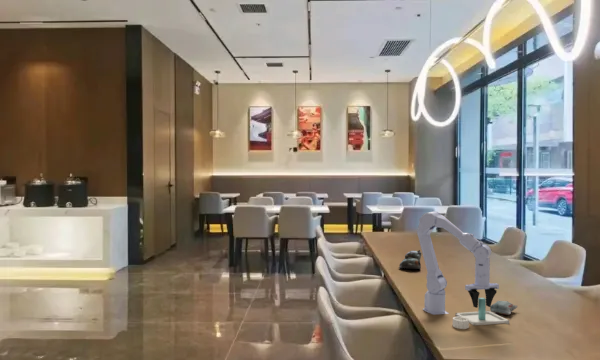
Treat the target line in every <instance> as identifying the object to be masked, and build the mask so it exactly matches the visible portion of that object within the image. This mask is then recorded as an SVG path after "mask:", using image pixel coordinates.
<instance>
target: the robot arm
mask: <svg viewBox="0 0 600 360" xmlns="http://www.w3.org/2000/svg"><path fill="white" fill-rule="evenodd" d="M418 220H419V222H418V228H417V231H416V234H417V237H418V242H419V245H420V249H421V250H420V251H421V254H422V257H423V260H424V263H425V264H424V265H425V268H426V272H427V273H426V290H427V291H426V292H425V293H424V308H422V310H423V311H425V312H427V313H428V314H430V315H447V314H448V315H449V314H450V313H449V312H447V310H446V290H445V289H446V288H447V286H448V281H447V279H446V277H444V274H443V272H442V270H441V269H440V266H439V264H438V259H437V254H436V252H435V248H434V243H433V241H432V237H431V233H432V232H433V230H434V229H435V228H442V229H444V230H445V231H447V232H448V233H449V234H452V235H453V236H454V237H455V238H457V239H458V241H459V244H460V245H461V246H463V248H465V249H467V251H469V252H471V253H472V254H473V256H474V258H475V263H474V264H475V265H474V273H475V274H474V283H471V284H465V285H464V286H465V287H464V289H465V290H466V291H467V292H468V294H469V296H470V298H471V302H472V307H473V308H477V309H478V298H480V292H479V291H480V290H484V293H485V299H486V307H489V308H490V307H491V305H492V302H493V300H494V297H495V296H496V294H497V290H500V284H499V283H496V282H495V283H493V282H490V278H491V277H490V276H491V275H490V274H491V273H490V270H491V266H490V265H491V264H490V262H491V260H490V258H491V255H492V248H491V247H490V246H489V245H488V244H485V243H484V242H483V241H480V240H478V239H477V238H476V237H475V236H474V234H473V233H469V232H463V231H462V230H461V229H460V228H458V226H457V225H455V224H454V223H452V222H451V221H450V220H449V219H448V218H447V217H445V215H443V214H441V213H440V212H438V211H433V210H432V211H430V212H429V211H428V212H425V213H423V214H422V215H421V217H420V218H419V219H418ZM478 290H479V291H478Z"/></svg>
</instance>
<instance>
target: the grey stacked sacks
mask: <svg viewBox="0 0 600 360" xmlns="http://www.w3.org/2000/svg"><path fill="white" fill-rule="evenodd" d="M421 258H422V251H421V250H420V249H419V250H410V251H408V252H407V253H406V254H405V255H404V259H403V260H402V261H401V262H400V263H399V265H398V266H399V267H398V269H399V270H400V269H401V270H402V269H403V268H404V269H405V268H406V269H408V270H409V269H411V270H417V269H419V270H418V271H421V269H422V265H421ZM404 269H403V270H404Z"/></svg>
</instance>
